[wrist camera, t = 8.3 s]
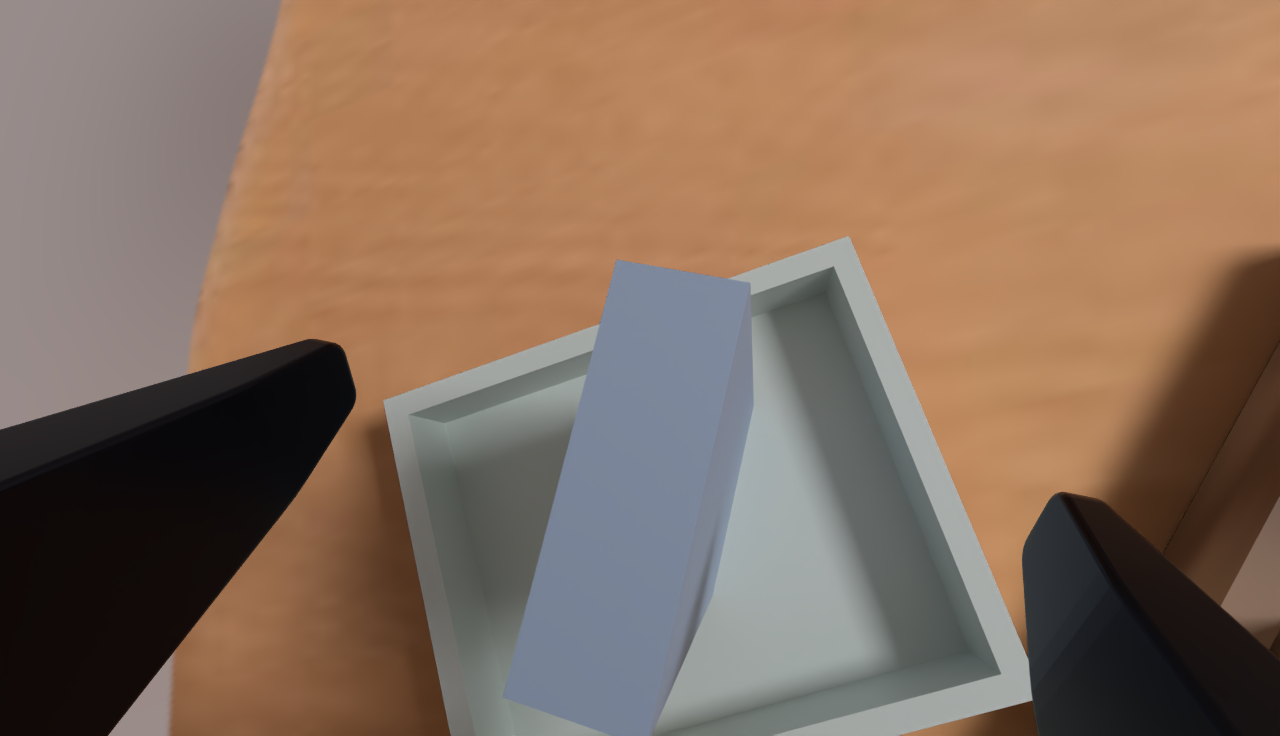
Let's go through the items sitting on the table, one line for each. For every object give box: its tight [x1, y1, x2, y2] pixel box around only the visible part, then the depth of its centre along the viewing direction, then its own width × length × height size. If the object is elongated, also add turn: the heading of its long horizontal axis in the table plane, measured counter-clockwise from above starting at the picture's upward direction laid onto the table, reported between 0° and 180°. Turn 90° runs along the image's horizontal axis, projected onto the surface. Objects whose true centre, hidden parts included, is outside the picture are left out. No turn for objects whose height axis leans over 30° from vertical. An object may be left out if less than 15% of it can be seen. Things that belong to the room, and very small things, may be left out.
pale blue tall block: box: [503, 260, 754, 736], centre depth 12 cm, size 5×2×10 cm, turn 166°
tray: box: [383, 236, 1032, 736], centre depth 16 cm, size 13×11×2 cm
